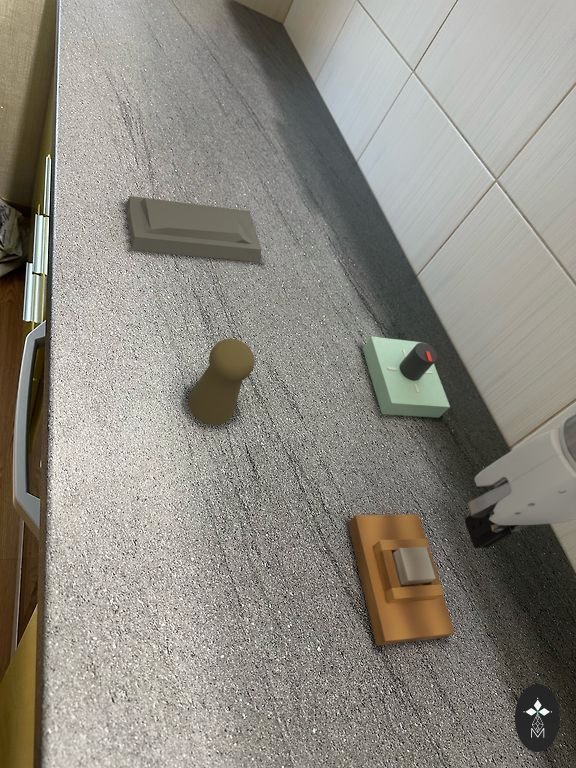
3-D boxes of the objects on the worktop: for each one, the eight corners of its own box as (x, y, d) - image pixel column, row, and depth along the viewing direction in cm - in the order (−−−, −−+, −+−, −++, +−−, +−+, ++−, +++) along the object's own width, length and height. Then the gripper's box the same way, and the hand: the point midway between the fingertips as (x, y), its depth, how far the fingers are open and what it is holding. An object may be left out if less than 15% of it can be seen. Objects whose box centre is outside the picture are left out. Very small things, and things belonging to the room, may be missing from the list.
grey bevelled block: (259, 262, 91) (266, 245, 89) (132, 250, 83) (135, 231, 80) (246, 218, 97) (252, 202, 94) (125, 203, 88) (128, 184, 86)
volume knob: (397, 359, 85) (413, 339, 82) (417, 362, 86) (434, 343, 83) (402, 379, 83) (419, 359, 79) (423, 382, 84) (441, 362, 81)
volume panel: (416, 354, 92) (426, 342, 90) (439, 417, 86) (451, 406, 83) (362, 348, 88) (371, 335, 86) (381, 414, 82) (392, 402, 79)
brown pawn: (192, 426, 69) (215, 373, 61) (183, 385, 72) (204, 329, 64) (239, 423, 72) (267, 372, 64) (228, 383, 75) (254, 330, 67)
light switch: (409, 520, 73) (426, 508, 70) (444, 637, 65) (464, 629, 62) (347, 522, 69) (362, 509, 66) (375, 646, 62) (393, 637, 59)
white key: (418, 552, 66) (426, 546, 65) (427, 583, 64) (436, 578, 63) (391, 553, 65) (399, 547, 64) (400, 585, 63) (408, 580, 62)
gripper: (654, 410, 49) (518, 498, 63) (519, 401, 44) (402, 500, 58) (702, 490, 45) (546, 566, 59) (561, 491, 40) (424, 575, 54)
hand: (475, 533), depth 58 cm, fingers closed
